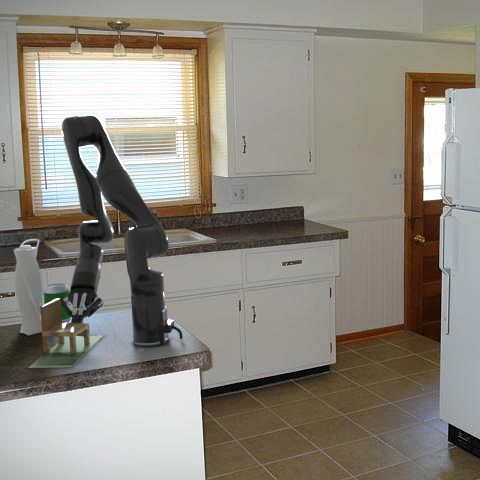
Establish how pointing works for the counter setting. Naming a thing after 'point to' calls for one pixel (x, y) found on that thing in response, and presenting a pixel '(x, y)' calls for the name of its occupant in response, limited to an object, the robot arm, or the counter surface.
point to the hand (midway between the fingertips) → (75, 328)
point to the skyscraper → (28, 288)
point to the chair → (60, 327)
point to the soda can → (57, 292)
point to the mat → (64, 354)
